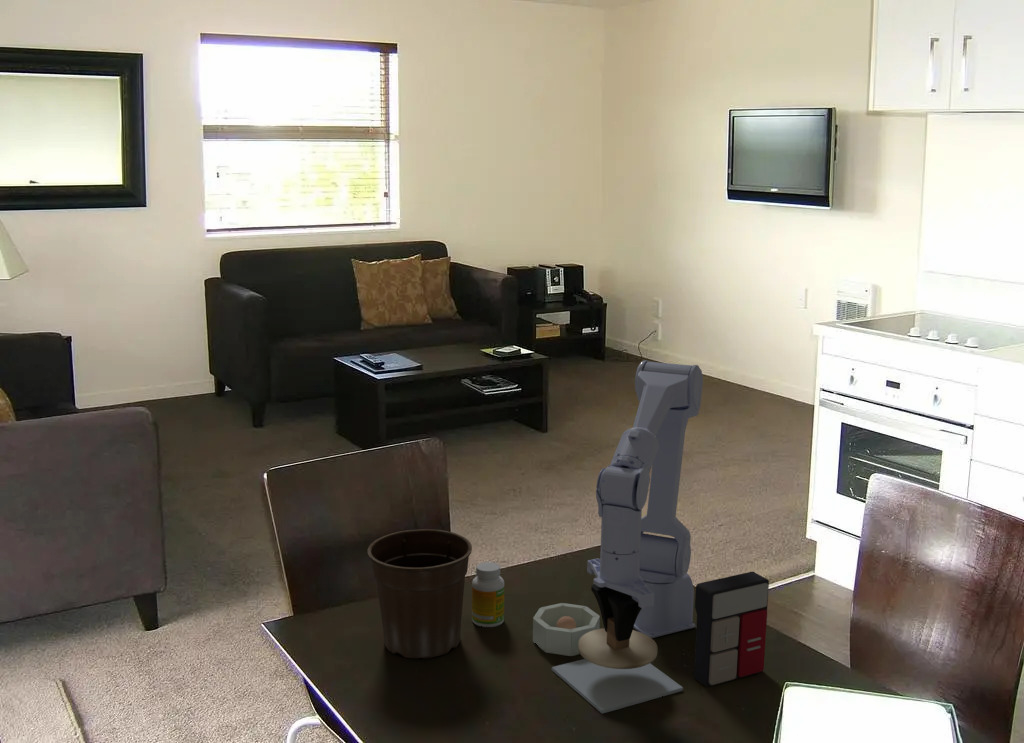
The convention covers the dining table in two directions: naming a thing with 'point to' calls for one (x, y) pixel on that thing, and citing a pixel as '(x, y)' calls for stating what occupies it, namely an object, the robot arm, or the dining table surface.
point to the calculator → (730, 627)
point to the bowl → (562, 638)
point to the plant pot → (420, 589)
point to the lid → (617, 648)
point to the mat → (615, 684)
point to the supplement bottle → (488, 595)
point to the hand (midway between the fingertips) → (617, 634)
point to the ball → (566, 623)
